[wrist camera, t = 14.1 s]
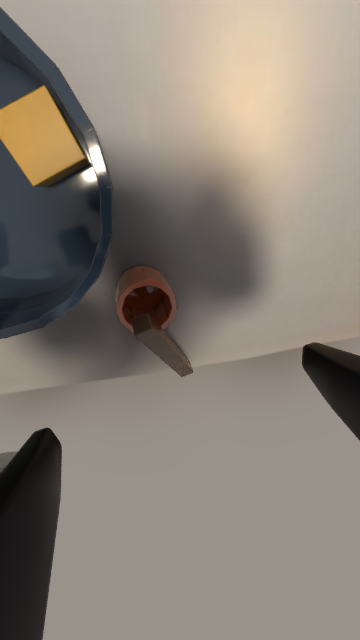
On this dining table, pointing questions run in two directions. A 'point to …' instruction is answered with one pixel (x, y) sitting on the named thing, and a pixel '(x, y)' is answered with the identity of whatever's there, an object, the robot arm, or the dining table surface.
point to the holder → (144, 297)
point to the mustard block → (40, 138)
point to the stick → (160, 344)
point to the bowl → (47, 203)
